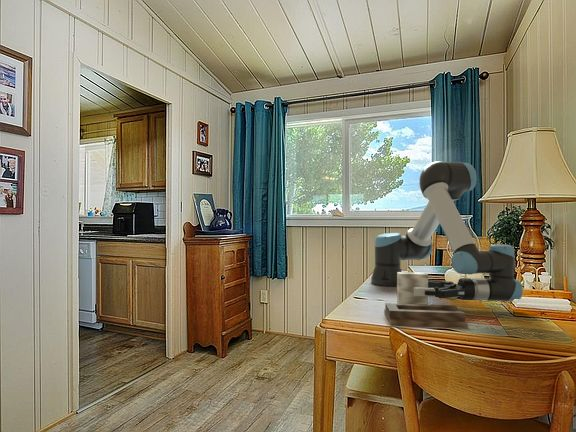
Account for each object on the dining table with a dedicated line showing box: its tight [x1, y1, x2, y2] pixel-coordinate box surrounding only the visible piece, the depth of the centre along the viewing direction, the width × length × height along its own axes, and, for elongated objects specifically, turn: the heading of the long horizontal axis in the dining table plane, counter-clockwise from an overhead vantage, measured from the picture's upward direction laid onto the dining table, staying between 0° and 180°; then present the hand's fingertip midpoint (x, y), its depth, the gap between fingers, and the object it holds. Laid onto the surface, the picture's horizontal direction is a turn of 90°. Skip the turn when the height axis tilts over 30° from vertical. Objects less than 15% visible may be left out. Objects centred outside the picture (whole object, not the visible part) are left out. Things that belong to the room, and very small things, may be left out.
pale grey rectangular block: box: [396, 271, 429, 305], centre depth 134 cm, size 10×4×12 cm, turn 83°
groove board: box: [383, 302, 469, 329], centre depth 118 cm, size 22×14×4 cm, turn 83°
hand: (409, 287), depth 133 cm, fingers open, 13 cm apart
